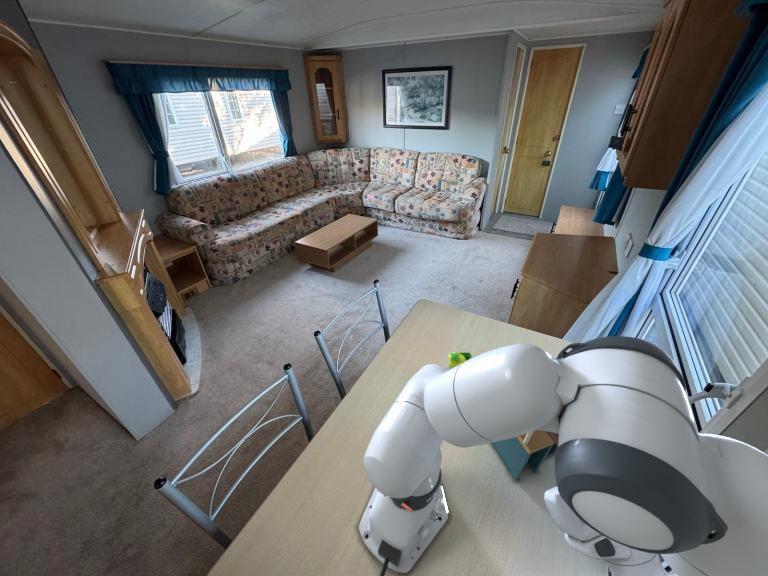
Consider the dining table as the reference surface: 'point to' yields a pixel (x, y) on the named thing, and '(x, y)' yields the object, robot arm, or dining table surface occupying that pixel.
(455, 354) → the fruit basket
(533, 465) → the plate rack
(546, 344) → the dining table surface
